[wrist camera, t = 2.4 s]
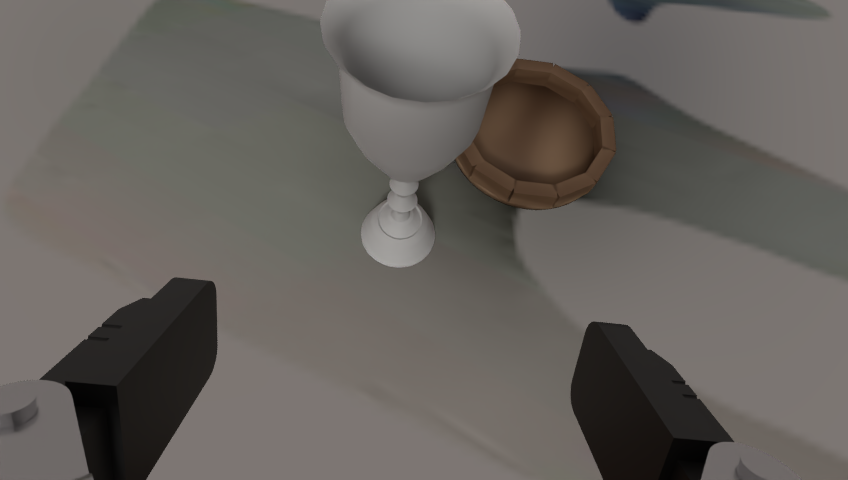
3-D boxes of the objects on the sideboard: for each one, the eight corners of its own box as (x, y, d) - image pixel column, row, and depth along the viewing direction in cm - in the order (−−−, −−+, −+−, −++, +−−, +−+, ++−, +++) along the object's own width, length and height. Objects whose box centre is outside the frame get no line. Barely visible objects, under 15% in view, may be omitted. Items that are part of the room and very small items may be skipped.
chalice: (448, 190, 37) (511, -33, 20) (453, 280, 34) (531, 106, 17) (345, 188, 36) (324, -45, 19) (342, 279, 33) (314, 98, 17)
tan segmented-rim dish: (597, 88, 42) (608, 70, 40) (608, 218, 37) (621, 205, 35) (453, 70, 41) (457, 50, 39) (444, 199, 36) (448, 185, 34)
